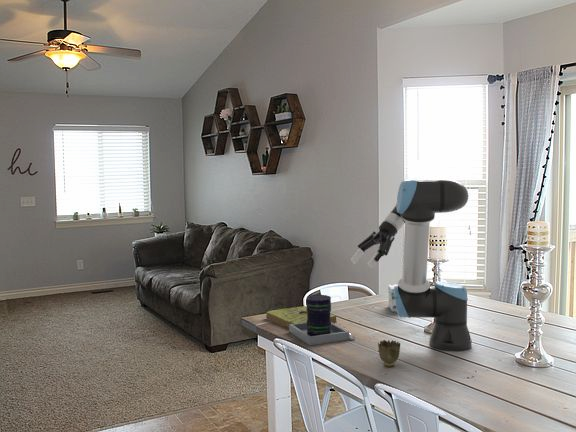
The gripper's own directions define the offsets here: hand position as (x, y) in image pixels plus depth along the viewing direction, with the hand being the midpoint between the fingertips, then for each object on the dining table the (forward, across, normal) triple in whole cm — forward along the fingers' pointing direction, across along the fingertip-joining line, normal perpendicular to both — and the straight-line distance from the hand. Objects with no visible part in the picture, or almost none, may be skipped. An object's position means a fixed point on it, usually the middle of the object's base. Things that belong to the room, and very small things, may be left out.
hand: (360, 264), depth 243 cm
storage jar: (+34, -3, -3) cm, 34 cm away
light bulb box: (-2, +19, -40) cm, 44 cm away
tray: (+34, -3, -3) cm, 34 cm away
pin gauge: (+26, -9, -9) cm, 29 cm away
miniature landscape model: (+32, +21, -6) cm, 39 cm away
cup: (+31, -45, -8) cm, 55 cm away
